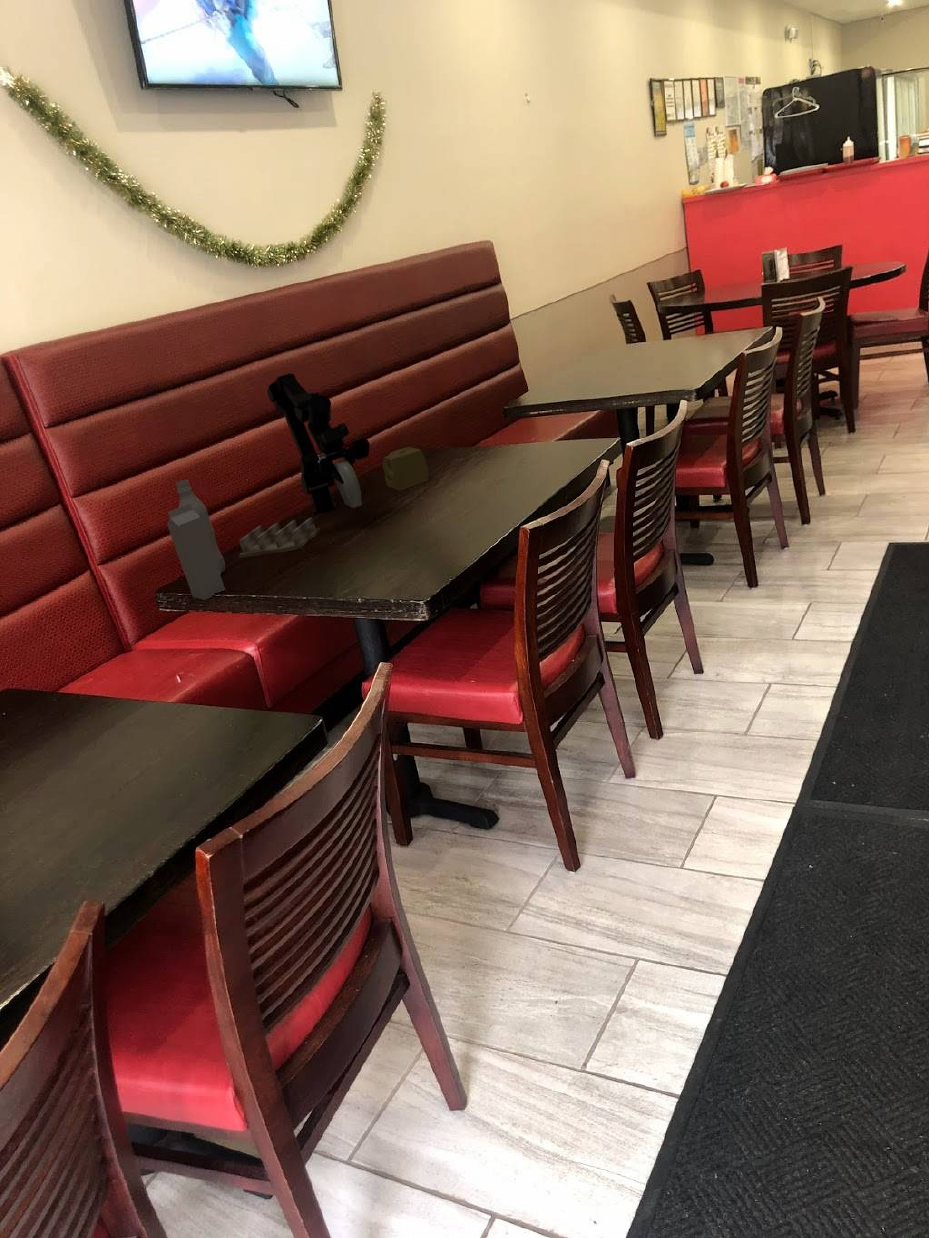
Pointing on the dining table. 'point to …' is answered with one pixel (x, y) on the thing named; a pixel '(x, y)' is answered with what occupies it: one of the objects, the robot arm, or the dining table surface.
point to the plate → (348, 484)
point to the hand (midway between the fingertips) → (348, 481)
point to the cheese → (405, 468)
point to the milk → (194, 552)
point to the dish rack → (277, 538)
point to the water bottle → (201, 510)
